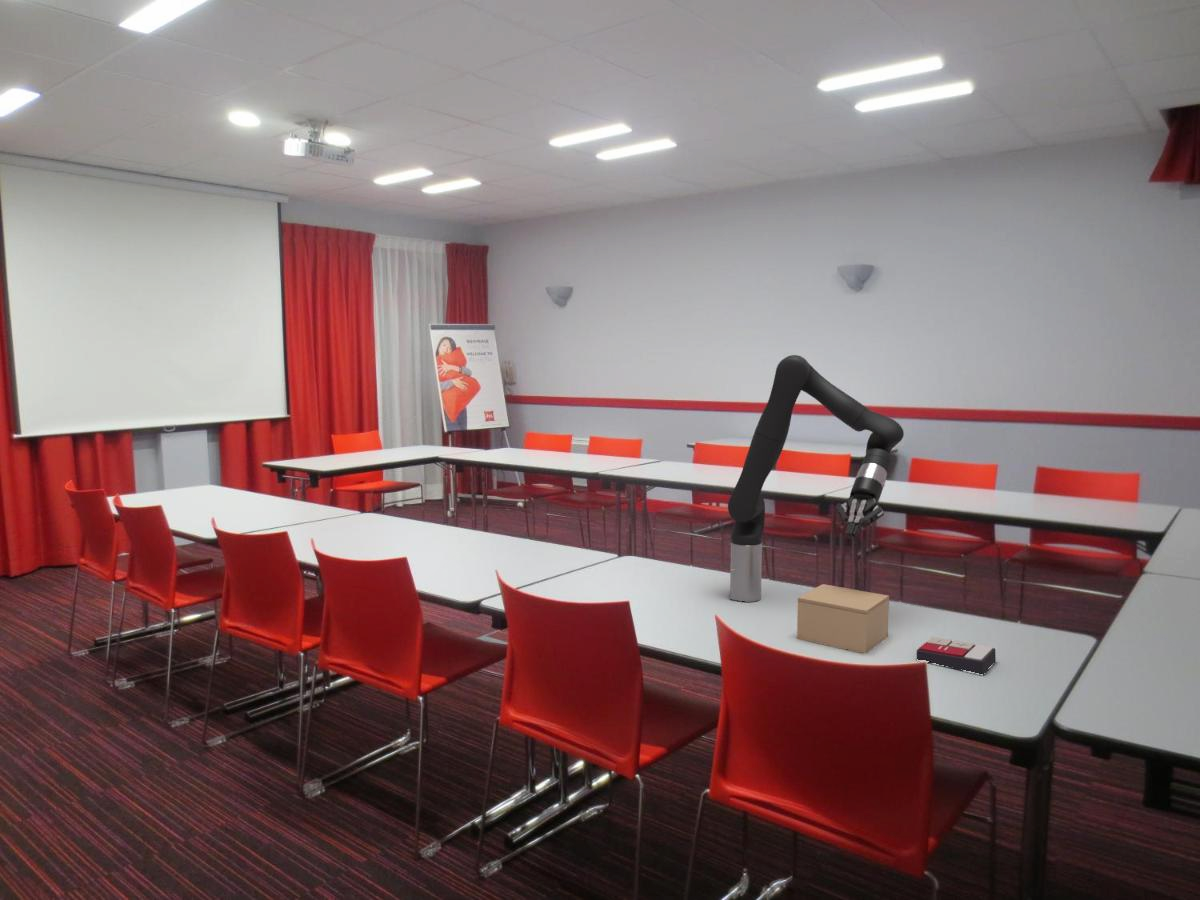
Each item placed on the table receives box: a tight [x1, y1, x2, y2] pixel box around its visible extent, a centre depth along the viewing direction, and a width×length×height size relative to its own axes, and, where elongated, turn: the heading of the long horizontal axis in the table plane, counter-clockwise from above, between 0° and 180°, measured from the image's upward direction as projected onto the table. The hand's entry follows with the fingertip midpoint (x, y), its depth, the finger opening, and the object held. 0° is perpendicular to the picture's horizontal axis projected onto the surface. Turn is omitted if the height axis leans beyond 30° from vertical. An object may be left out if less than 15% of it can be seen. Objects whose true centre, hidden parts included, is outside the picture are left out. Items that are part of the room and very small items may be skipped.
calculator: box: [916, 636, 996, 675], centre depth 192 cm, size 11×4×15 cm
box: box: [796, 598, 890, 654], centre depth 209 cm, size 16×18×10 cm
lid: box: [797, 583, 890, 614], centre depth 208 cm, size 16×18×1 cm
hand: (850, 536), depth 210 cm, fingers closed
